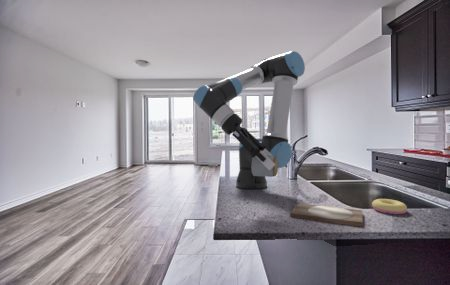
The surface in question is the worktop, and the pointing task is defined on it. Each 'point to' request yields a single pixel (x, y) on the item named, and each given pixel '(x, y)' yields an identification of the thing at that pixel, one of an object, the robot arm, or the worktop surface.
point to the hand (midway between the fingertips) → (274, 165)
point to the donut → (389, 206)
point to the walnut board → (328, 214)
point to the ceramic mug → (261, 170)
